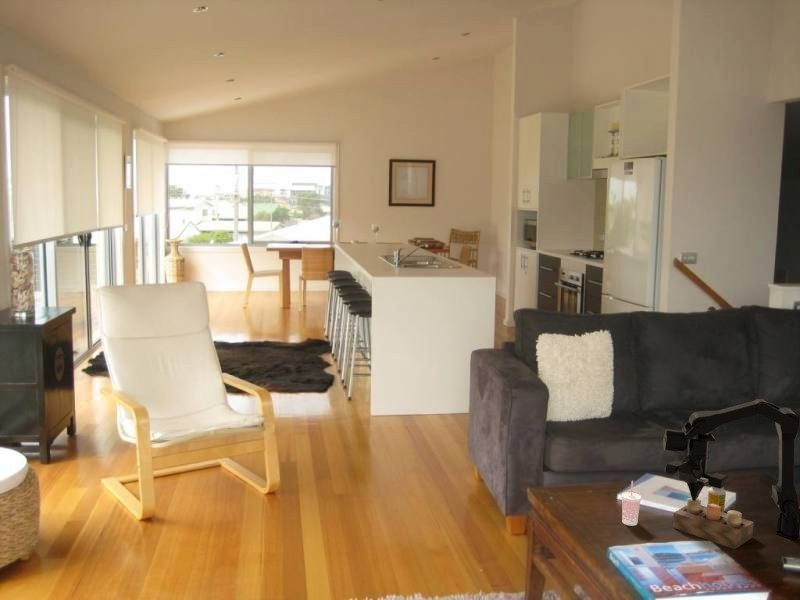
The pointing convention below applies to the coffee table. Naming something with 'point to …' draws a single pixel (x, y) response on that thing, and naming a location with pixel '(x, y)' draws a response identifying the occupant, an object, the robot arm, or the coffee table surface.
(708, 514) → the terracotta plug
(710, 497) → the supplement bottle
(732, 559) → the coffee table surface
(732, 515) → the maple plug near
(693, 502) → the maple plug far
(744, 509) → the coffee table surface
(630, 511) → the beverage cup
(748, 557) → the coffee table surface
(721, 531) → the wooden compartment tray
